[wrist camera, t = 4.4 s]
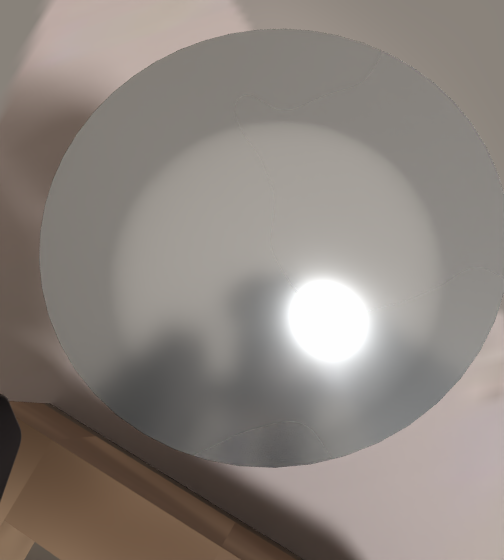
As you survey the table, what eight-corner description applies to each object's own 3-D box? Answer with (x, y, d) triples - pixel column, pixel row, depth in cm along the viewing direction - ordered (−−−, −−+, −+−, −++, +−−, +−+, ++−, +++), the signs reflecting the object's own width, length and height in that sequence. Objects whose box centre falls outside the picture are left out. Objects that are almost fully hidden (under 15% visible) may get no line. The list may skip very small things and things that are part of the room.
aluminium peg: (314, 452, 16) (387, 581, 3) (211, 394, 16) (-50, 317, 4) (365, 345, 16) (578, 117, 4) (264, 295, 17) (183, -20, 5)
